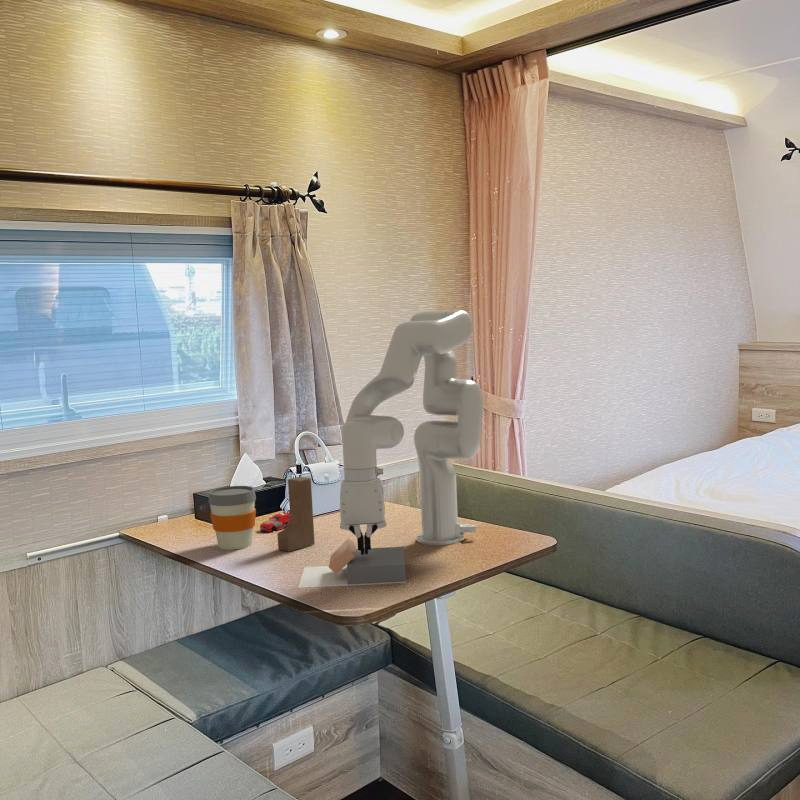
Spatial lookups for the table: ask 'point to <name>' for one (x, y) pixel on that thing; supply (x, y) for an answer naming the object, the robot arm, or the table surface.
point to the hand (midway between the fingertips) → (364, 552)
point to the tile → (342, 556)
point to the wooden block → (298, 516)
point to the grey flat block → (377, 566)
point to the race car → (276, 522)
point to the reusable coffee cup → (233, 515)
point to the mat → (326, 578)
